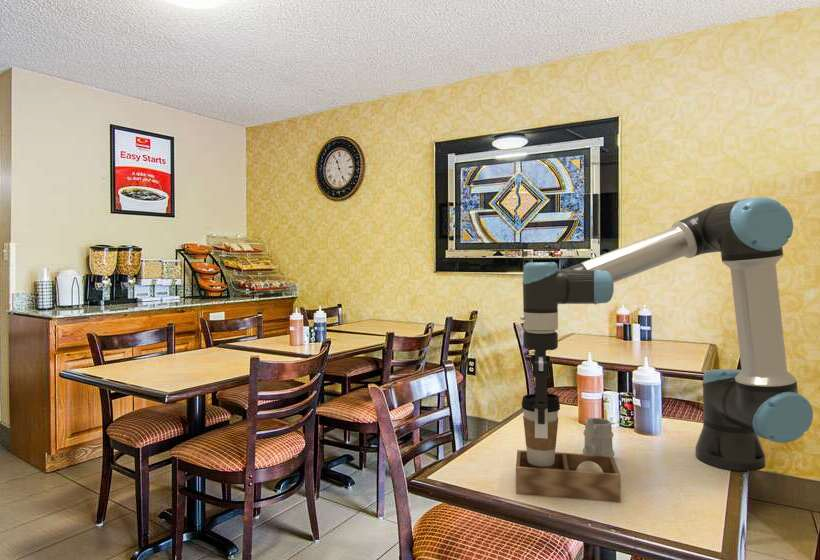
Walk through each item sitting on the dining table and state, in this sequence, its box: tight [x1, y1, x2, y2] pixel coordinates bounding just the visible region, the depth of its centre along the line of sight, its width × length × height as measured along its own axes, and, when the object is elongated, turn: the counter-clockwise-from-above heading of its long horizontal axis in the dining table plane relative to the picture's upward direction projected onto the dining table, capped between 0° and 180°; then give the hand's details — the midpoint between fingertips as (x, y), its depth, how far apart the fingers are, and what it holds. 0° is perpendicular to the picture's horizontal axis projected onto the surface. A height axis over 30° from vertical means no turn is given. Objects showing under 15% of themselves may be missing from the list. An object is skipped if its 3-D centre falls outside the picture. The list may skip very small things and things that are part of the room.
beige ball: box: [576, 461, 603, 473], centre depth 115 cm, size 6×6×6 cm
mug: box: [582, 417, 615, 458], centre depth 133 cm, size 8×12×12 cm, turn 142°
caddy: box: [515, 449, 622, 503], centre depth 116 cm, size 21×11×6 cm, turn 77°
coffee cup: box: [521, 392, 561, 467], centre depth 117 cm, size 8×8×15 cm
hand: (540, 431), depth 117 cm, fingers closed on coffee cup, 8 cm apart
